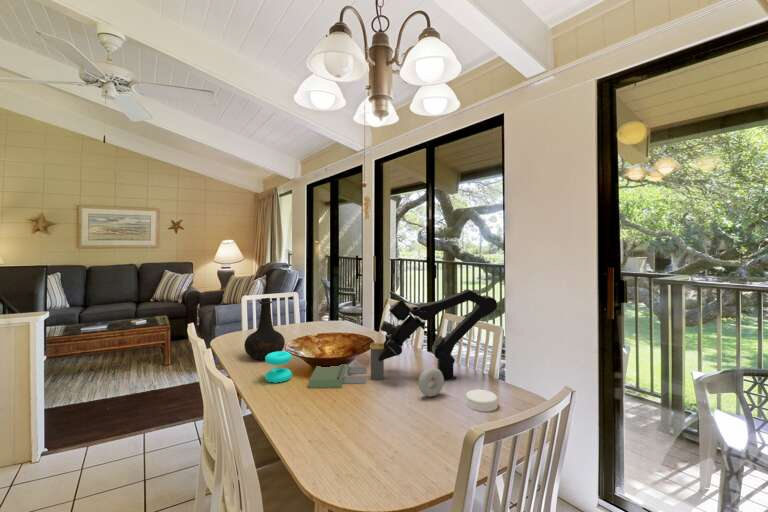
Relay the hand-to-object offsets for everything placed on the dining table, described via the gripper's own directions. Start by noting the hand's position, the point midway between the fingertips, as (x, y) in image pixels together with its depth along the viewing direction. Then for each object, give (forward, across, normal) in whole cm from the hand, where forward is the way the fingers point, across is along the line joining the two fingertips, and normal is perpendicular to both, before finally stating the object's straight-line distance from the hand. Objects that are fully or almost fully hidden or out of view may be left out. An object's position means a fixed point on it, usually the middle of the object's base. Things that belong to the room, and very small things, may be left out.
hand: (378, 356), depth 143 cm
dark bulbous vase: (+44, -28, -32) cm, 61 cm away
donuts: (+34, +1, -22) cm, 40 cm away
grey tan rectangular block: (+6, 0, +6) cm, 8 cm away
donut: (-7, +18, +19) cm, 27 cm away
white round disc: (-18, +25, +30) cm, 43 cm away
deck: (+17, 0, -5) cm, 17 cm away
